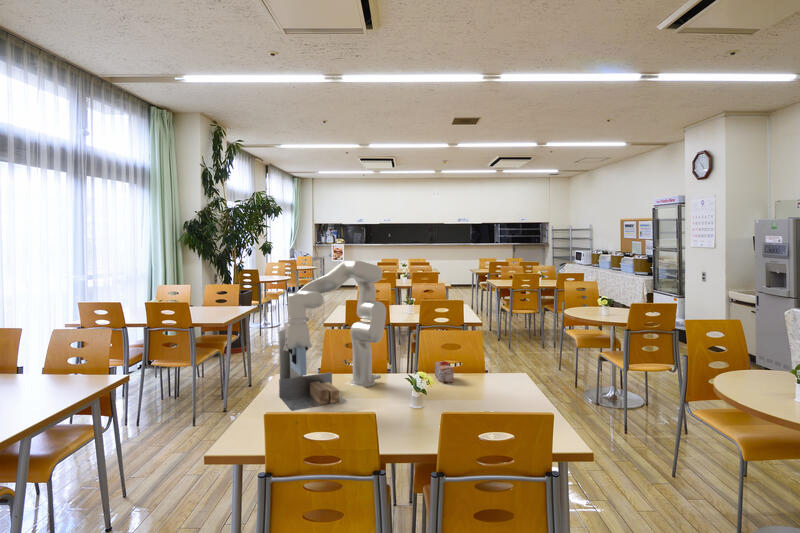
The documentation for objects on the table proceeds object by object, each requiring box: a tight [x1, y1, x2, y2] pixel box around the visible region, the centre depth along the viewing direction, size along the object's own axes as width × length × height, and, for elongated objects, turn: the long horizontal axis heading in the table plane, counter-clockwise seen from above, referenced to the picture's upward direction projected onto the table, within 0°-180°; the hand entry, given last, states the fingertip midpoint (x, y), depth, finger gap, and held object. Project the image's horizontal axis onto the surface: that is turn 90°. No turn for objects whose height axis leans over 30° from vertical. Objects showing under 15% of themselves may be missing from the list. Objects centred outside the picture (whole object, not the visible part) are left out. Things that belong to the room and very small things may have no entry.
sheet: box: [290, 347, 307, 376], centre depth 208 cm, size 2×16×11 cm, turn 28°
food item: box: [434, 360, 455, 383], centre depth 246 cm, size 14×8×10 cm, turn 14°
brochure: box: [278, 328, 301, 379], centre depth 229 cm, size 14×6×30 cm, turn 168°
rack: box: [278, 372, 348, 412], centre depth 213 cm, size 25×21×9 cm
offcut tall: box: [310, 382, 329, 404], centre depth 213 cm, size 4×14×6 cm, turn 28°
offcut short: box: [321, 382, 340, 403], centre depth 215 cm, size 4×14×5 cm, turn 28°
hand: (298, 362), depth 208 cm, fingers closed on sheet, 2 cm apart
